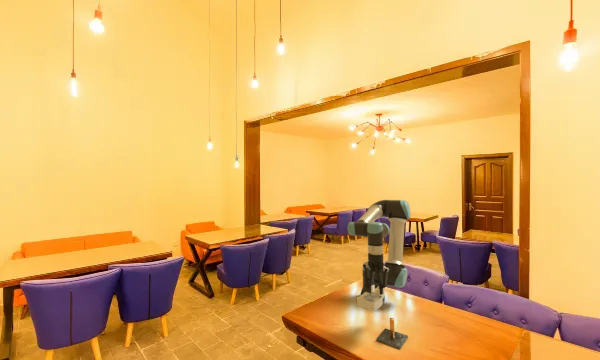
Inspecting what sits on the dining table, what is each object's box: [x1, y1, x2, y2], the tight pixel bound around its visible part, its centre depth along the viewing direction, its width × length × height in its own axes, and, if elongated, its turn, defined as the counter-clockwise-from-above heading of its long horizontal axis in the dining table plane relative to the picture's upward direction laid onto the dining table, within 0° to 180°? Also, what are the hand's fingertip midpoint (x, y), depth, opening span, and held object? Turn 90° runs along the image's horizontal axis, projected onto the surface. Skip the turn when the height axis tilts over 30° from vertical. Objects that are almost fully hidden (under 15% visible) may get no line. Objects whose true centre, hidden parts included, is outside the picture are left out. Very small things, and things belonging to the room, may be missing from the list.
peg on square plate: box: [375, 317, 409, 350], centre depth 128 cm, size 11×11×10 cm
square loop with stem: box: [356, 286, 386, 312], centre depth 136 cm, size 18×9×5 cm, turn 139°
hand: (376, 299), depth 137 cm, fingers closed on square loop with stem, 3 cm apart
